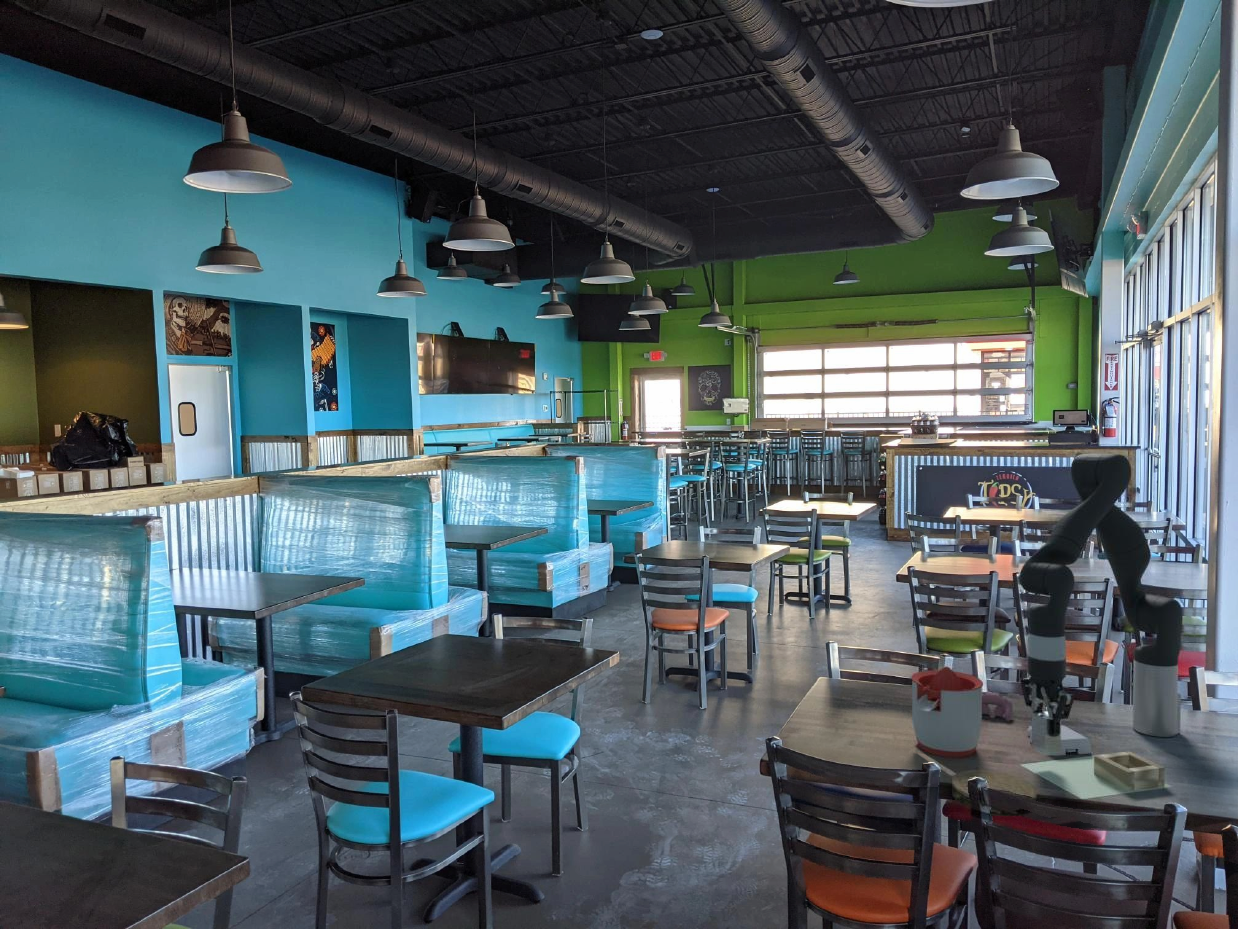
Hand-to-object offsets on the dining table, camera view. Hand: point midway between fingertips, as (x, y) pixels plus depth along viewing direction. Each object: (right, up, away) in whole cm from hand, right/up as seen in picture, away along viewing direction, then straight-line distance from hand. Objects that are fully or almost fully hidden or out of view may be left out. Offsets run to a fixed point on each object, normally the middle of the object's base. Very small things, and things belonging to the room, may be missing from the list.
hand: (1046, 732), depth 187 cm
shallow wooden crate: (+14, -8, -7) cm, 17 cm away
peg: (0, -4, 0) cm, 4 cm away
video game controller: (+4, -7, +36) cm, 37 cm away
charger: (+9, -9, +15) cm, 19 cm away
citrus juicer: (-17, -9, +13) cm, 23 cm away
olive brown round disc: (-17, -10, -12) cm, 23 cm away
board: (+8, -9, -4) cm, 13 cm away
